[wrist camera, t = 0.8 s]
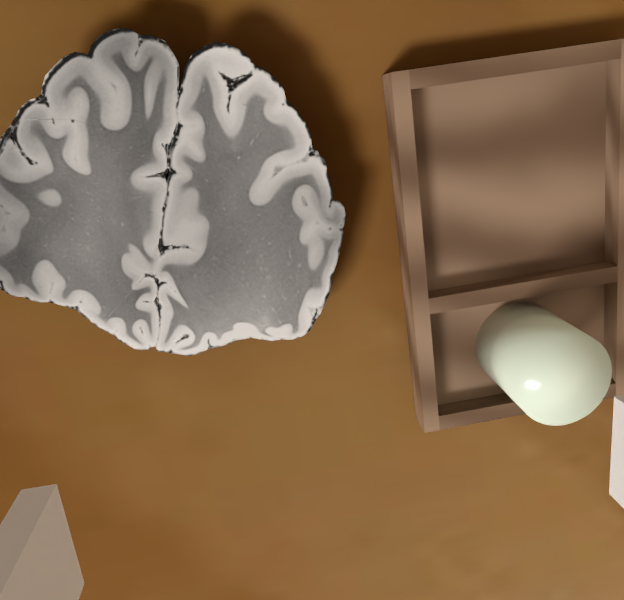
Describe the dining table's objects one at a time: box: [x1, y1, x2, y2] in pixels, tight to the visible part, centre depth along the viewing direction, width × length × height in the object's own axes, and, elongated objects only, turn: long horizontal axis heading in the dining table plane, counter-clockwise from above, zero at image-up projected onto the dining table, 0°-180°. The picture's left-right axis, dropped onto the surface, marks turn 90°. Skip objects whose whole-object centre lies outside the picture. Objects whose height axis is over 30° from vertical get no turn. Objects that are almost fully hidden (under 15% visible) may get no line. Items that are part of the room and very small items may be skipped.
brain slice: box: [0, 28, 346, 356], centre depth 33 cm, size 20×17×3 cm
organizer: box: [382, 39, 624, 433], centre depth 36 cm, size 22×14×2 cm, turn 8°
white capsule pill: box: [475, 301, 612, 425], centre depth 36 cm, size 6×6×6 cm
